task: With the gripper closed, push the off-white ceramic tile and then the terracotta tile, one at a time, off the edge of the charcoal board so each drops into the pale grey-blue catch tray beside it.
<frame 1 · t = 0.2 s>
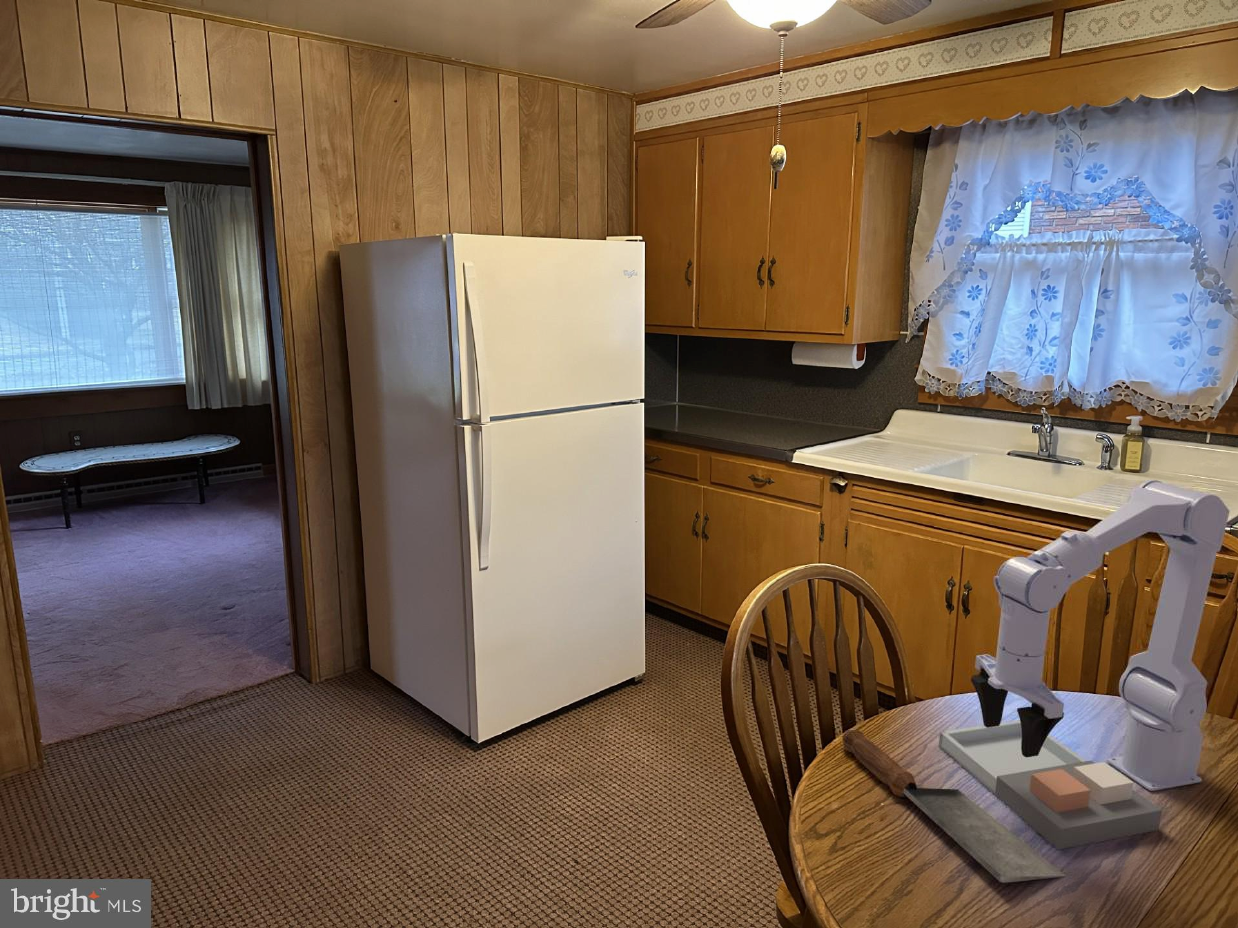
hand: (1010, 739, 115), 10 cm above the table, tool pointing down, fingers open, 7 cm apart
tile terracotta: (1058, 798, 113), point 3 cm above the table, touching board
tile white: (1100, 790, 115), point 3 cm above the table, touching board
board: (1074, 811, 115), on the table
catch tray: (1010, 761, 127), on the table
meat cleaver: (940, 806, 117), on the table
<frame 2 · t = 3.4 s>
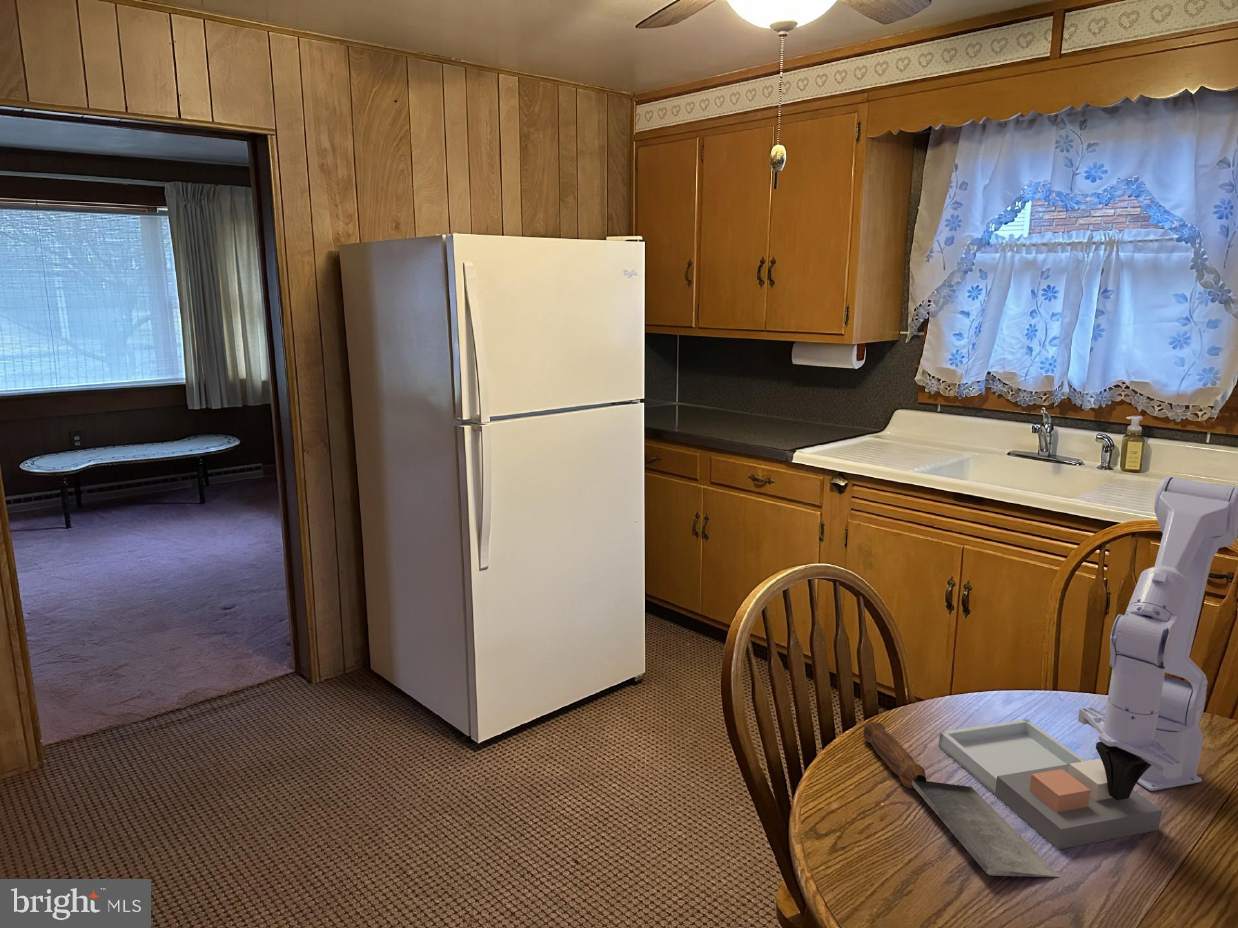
hand: (1118, 796, 112), 4 cm above the table, tool pointing down, fingers closed
tile white: (1096, 787, 116), point 3 cm above the table
meat cleaver: (949, 801, 118), on the table
everything else where it was.
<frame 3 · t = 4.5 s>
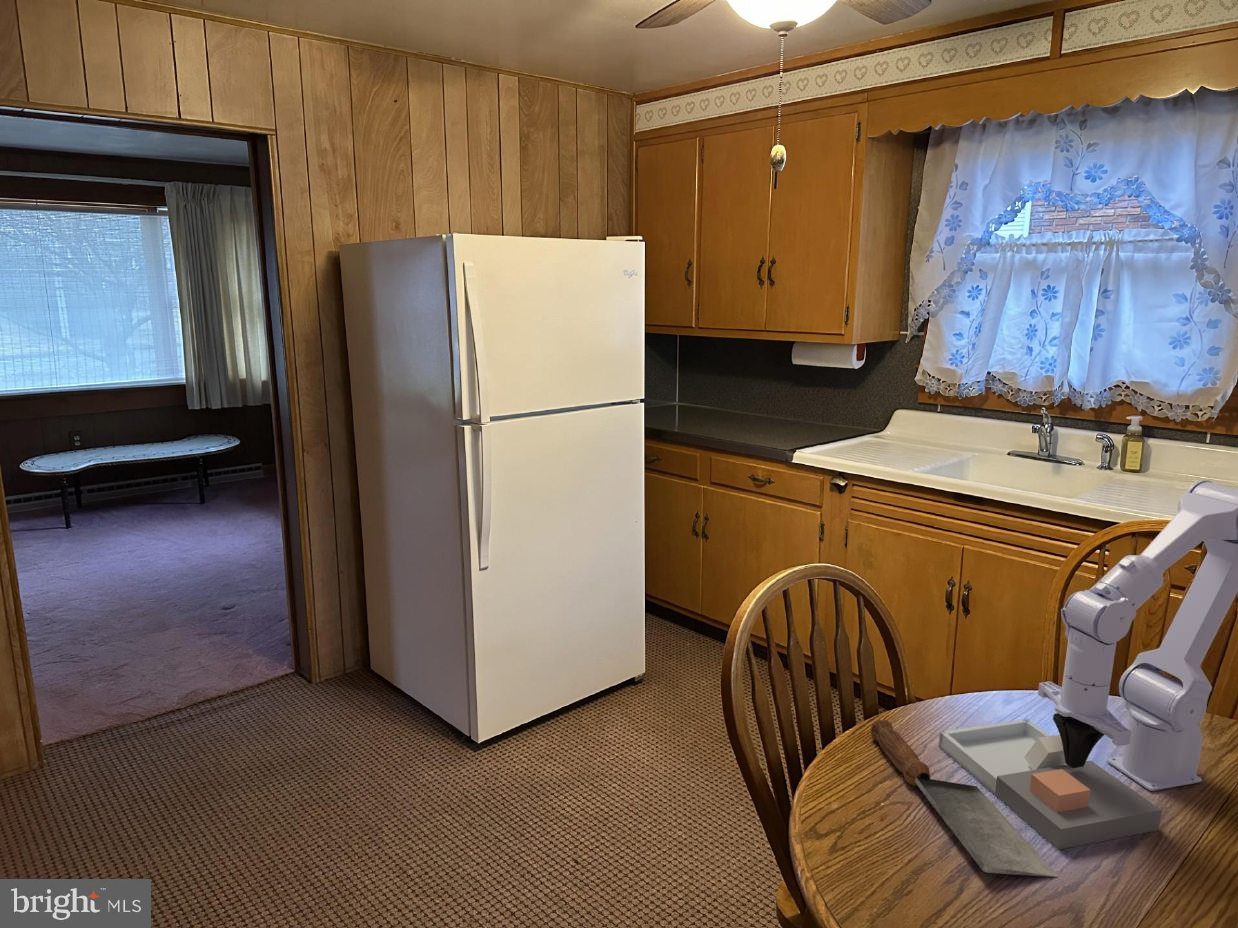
hand: (1074, 764, 120), 4 cm above the table, tool pointing down, fingers closed
tile white: (1055, 760, 123), point 3 cm above the table, tilted 64°
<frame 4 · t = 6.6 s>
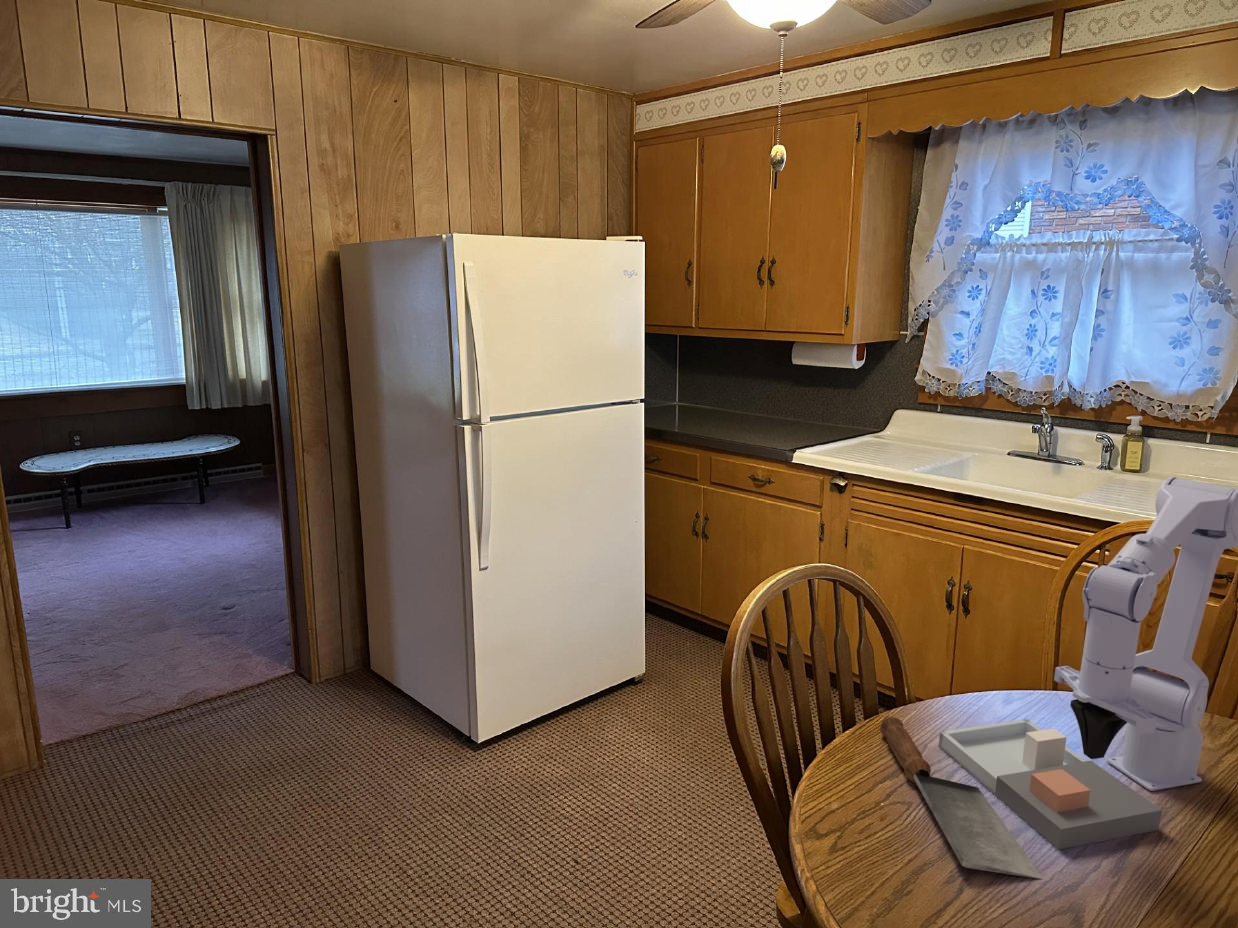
hand: (1093, 755, 110), 11 cm above the table, tool pointing down, fingers closed
tile white: (1050, 754, 124), point 3 cm above the table, tilted 90°, touching catch tray
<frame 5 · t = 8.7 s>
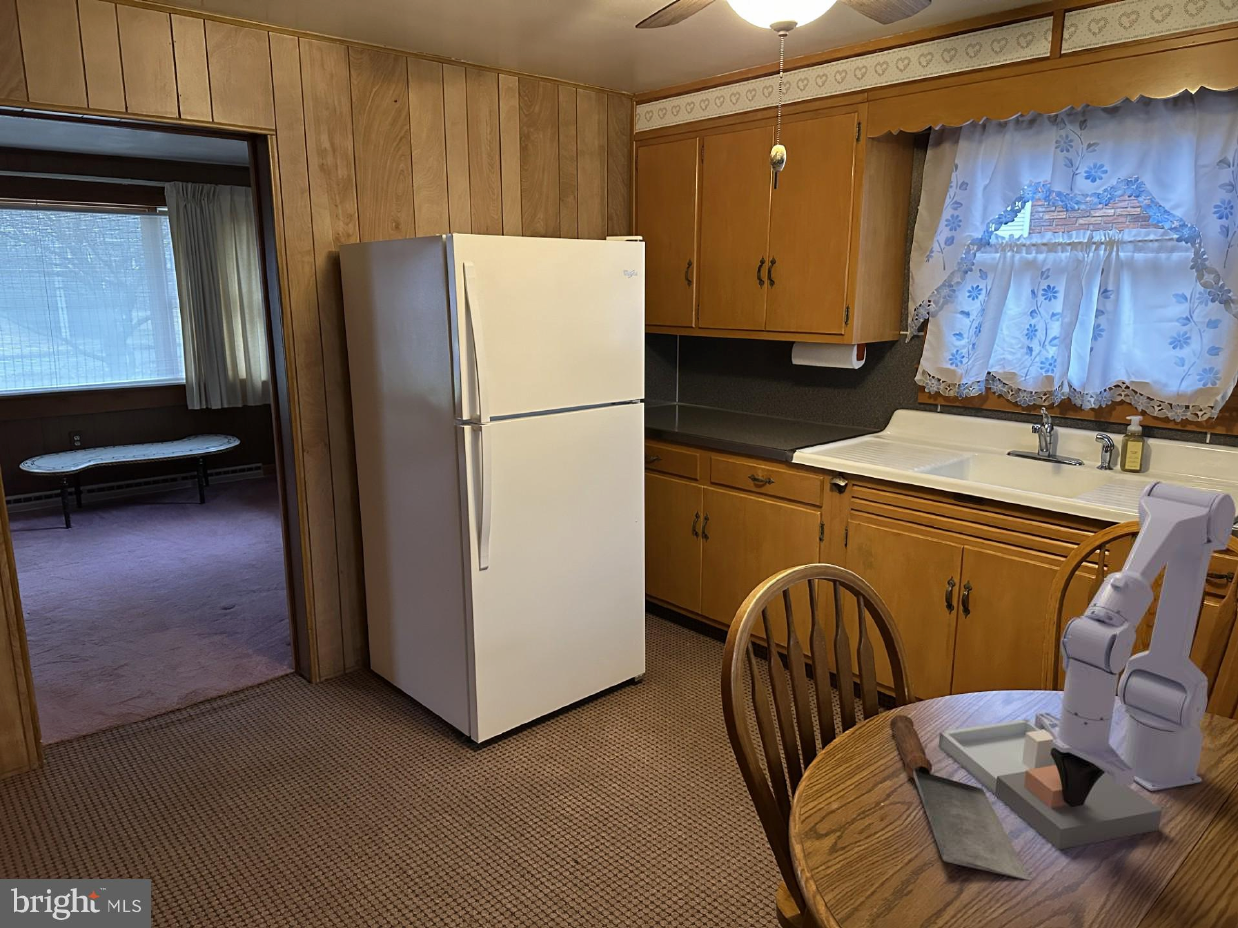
hand: (1073, 802, 111), 4 cm above the table, tool pointing down, fingers closed
tile terracotta: (1052, 793, 114), point 3 cm above the table, touching board, gripper
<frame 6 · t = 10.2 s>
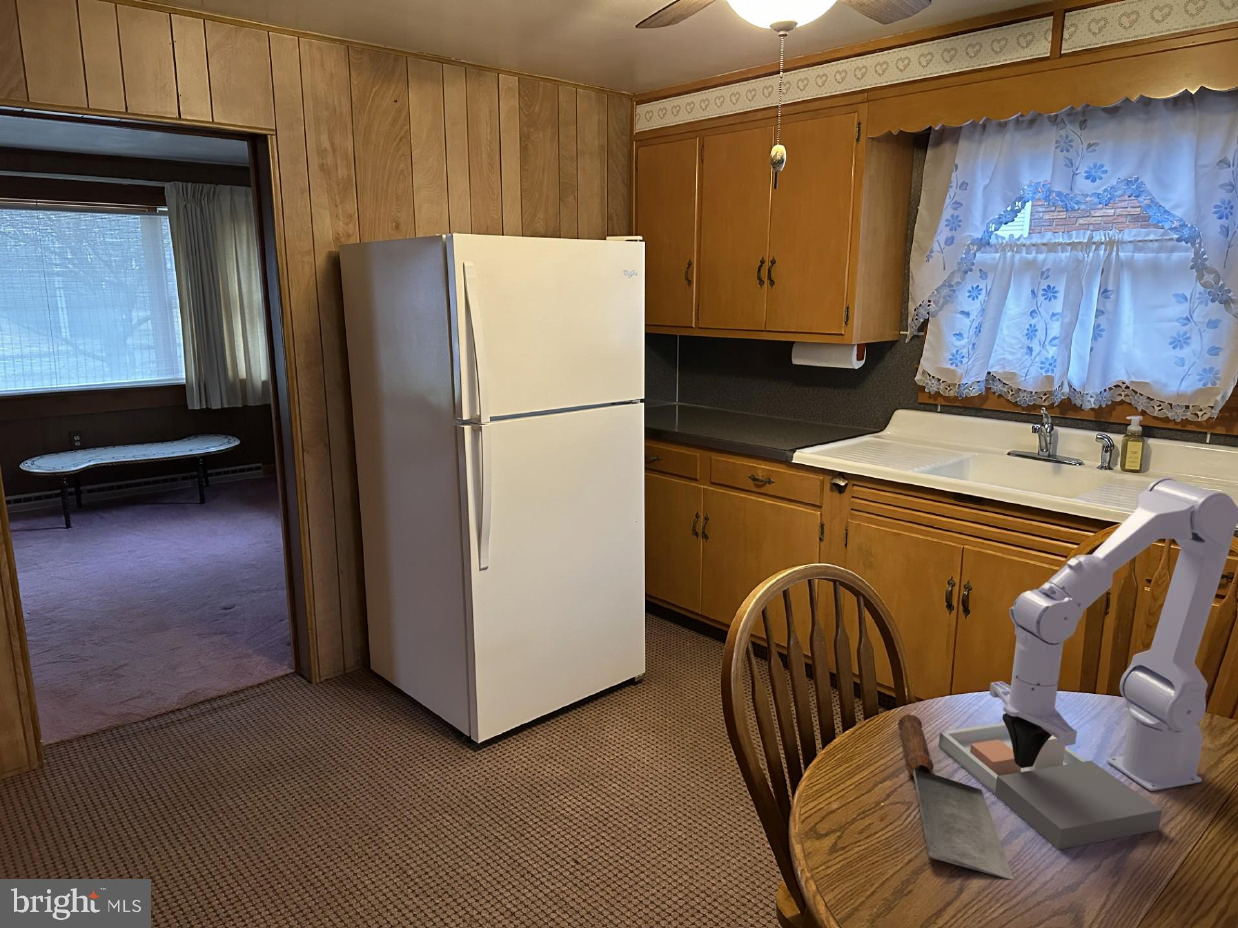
hand: (1024, 764, 119), 4 cm above the table, tool pointing down, fingers closed
tile terracotta: (996, 750, 125), point 3 cm above the table, tilted 180°, touching catch tray
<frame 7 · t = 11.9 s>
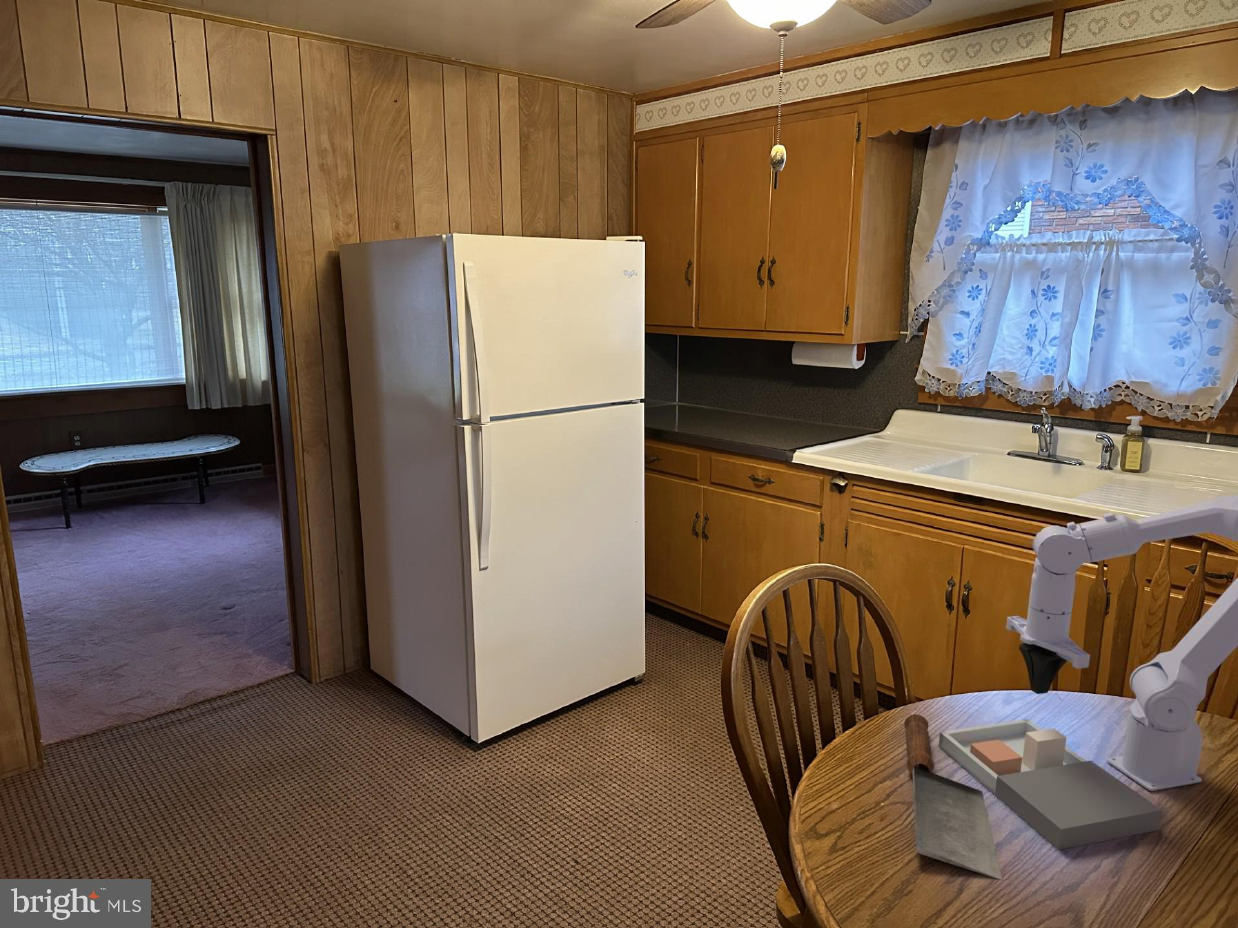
hand: (1039, 691, 127), 10 cm above the table, tool pointing down, fingers closed
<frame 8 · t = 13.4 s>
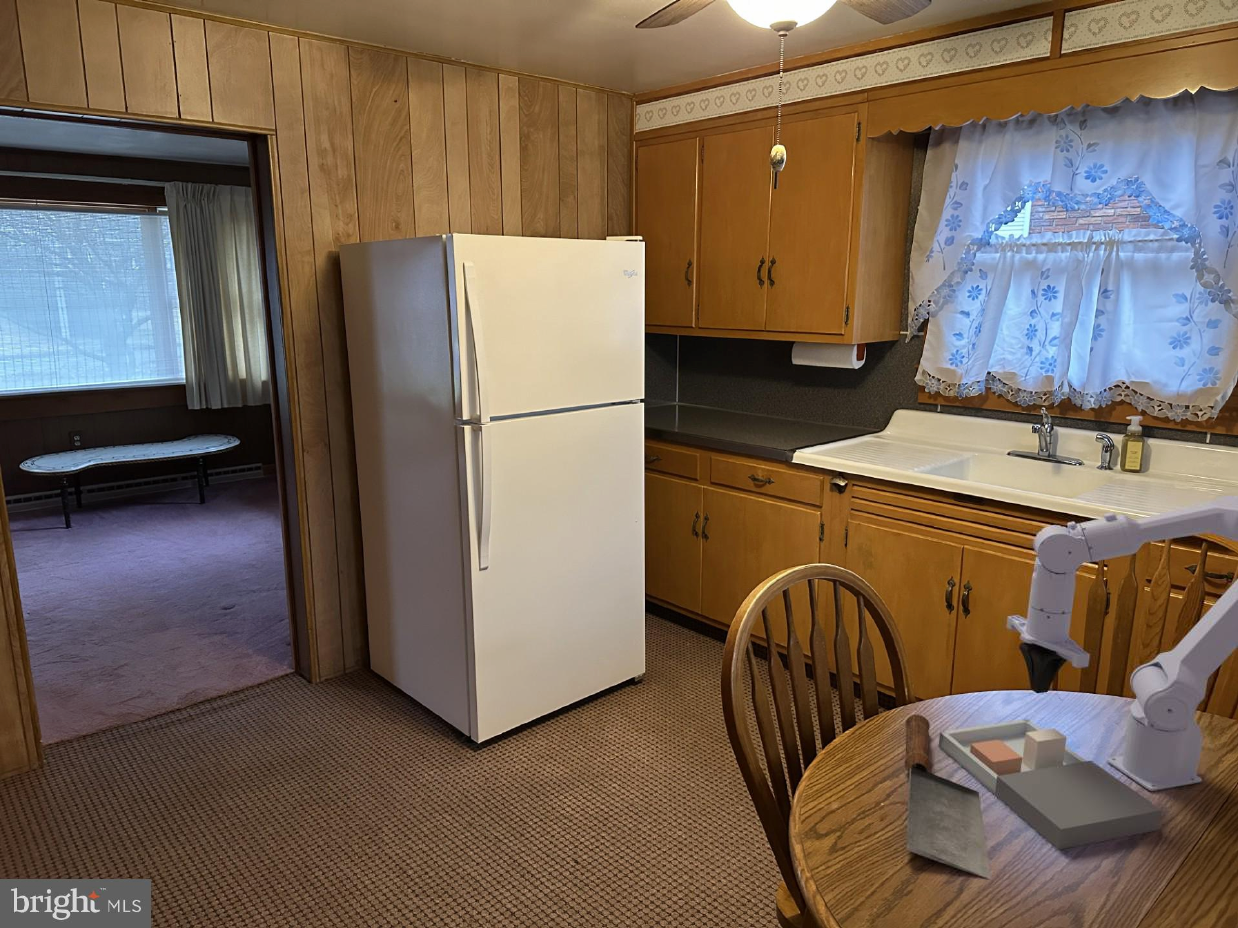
hand: (1039, 690, 128), 10 cm above the table, tool pointing down, fingers closed
at the end: tile white inside the target area (4.7 cm from its centre), point 3.0 cm above the table; tile terracotta inside the target area (3.7 cm from its centre), point 3.0 cm above the table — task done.
